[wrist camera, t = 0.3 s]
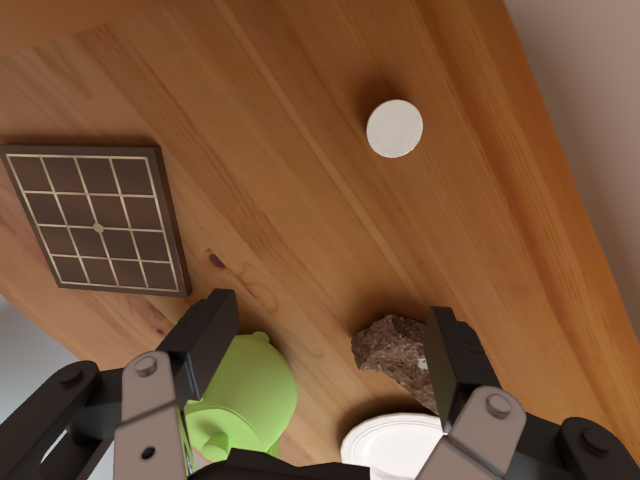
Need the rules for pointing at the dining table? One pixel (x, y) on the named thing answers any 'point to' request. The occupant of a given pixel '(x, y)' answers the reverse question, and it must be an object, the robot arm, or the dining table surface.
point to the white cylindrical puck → (394, 128)
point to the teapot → (244, 401)
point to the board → (101, 216)
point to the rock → (397, 355)
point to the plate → (392, 444)
